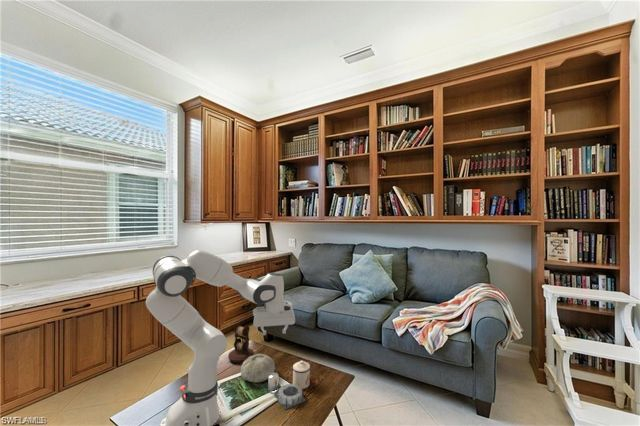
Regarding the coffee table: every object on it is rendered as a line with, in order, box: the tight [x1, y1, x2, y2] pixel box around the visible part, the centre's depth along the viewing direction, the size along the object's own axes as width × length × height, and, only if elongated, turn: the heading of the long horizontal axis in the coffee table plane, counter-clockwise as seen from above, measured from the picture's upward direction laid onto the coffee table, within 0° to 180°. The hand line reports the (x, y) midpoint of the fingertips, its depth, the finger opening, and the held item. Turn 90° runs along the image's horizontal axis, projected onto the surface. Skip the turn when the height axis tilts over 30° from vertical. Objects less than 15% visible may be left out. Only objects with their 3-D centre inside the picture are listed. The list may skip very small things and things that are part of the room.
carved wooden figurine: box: [227, 322, 255, 365], centre depth 160 cm, size 15×15×20 cm
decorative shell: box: [240, 353, 276, 384], centre depth 141 cm, size 18×18×10 cm
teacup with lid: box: [292, 360, 311, 390], centre depth 138 cm, size 12×9×12 cm
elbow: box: [267, 372, 280, 391], centre depth 131 cm, size 5×6×7 cm
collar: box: [275, 383, 307, 411], centre depth 125 cm, size 11×11×3 cm
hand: (274, 334), depth 130 cm, fingers open, 8 cm apart
